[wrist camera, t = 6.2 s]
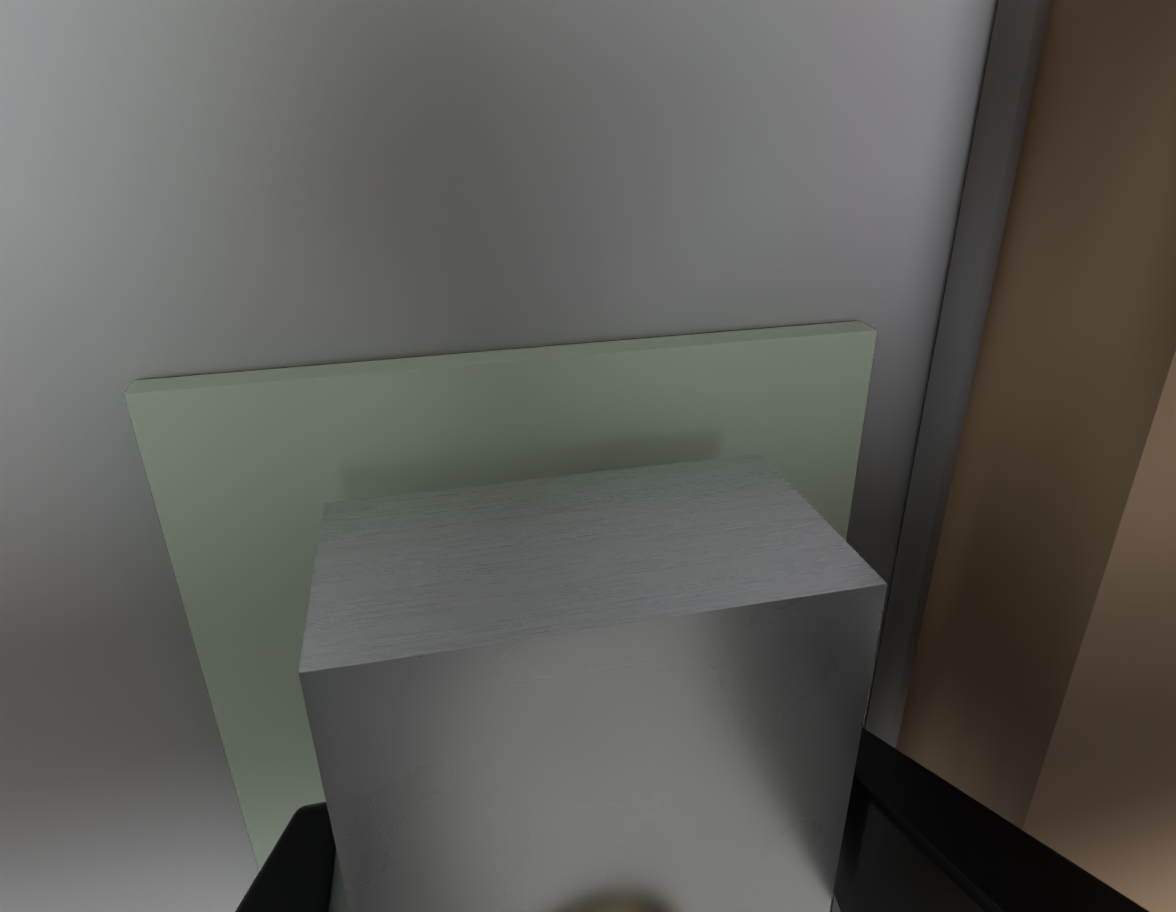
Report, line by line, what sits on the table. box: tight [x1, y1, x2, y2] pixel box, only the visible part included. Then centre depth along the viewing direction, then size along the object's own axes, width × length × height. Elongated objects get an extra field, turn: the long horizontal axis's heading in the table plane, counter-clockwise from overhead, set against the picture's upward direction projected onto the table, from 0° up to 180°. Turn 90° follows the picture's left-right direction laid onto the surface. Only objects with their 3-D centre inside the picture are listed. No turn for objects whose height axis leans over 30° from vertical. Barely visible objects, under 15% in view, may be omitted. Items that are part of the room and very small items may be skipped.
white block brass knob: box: [298, 454, 888, 912], centre depth 8 cm, size 6×4×3 cm
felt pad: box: [124, 321, 877, 871], centre depth 10 cm, size 8×8×1 cm
